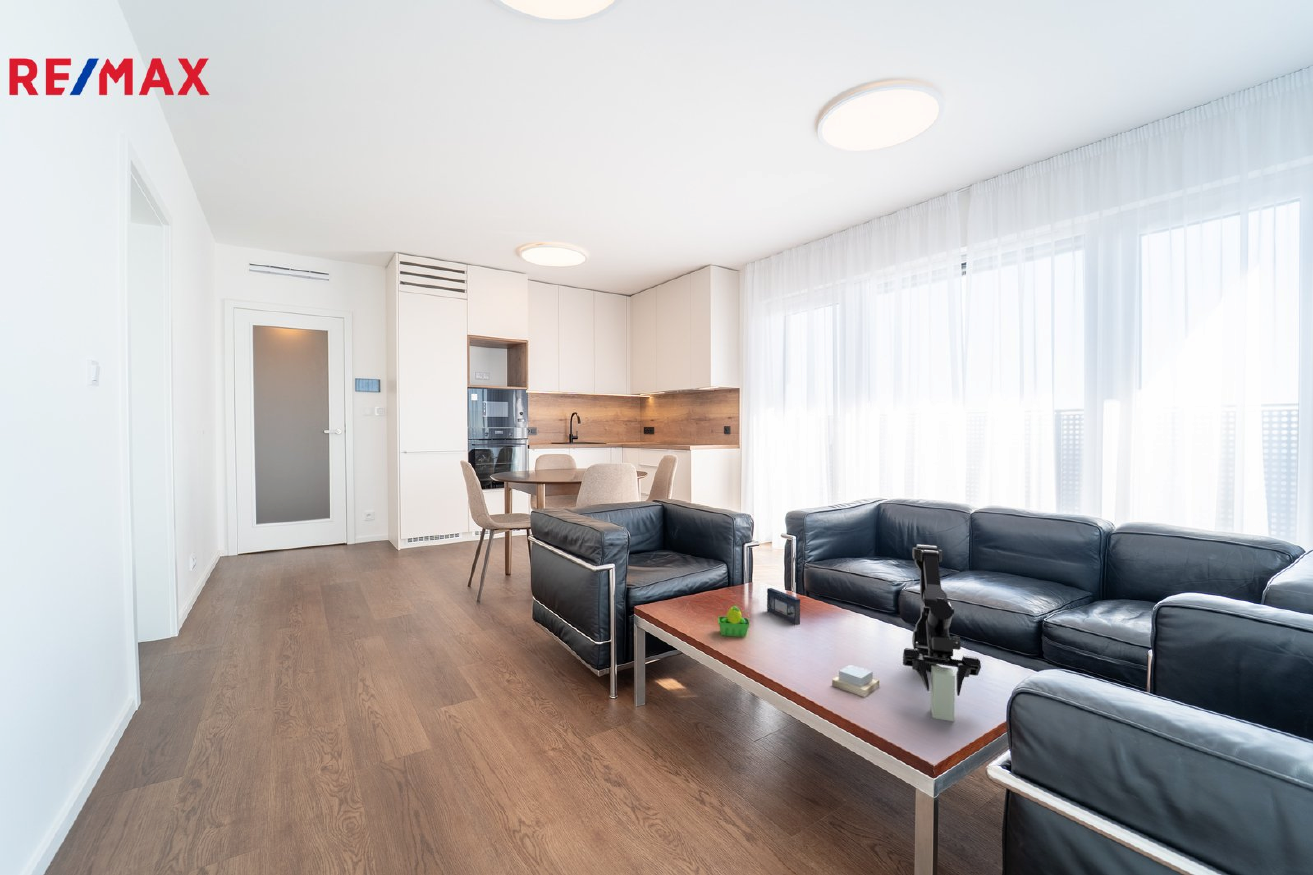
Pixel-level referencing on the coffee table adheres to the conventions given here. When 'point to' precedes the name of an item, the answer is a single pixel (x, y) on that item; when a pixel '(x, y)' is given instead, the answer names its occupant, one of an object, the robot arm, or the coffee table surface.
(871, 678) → the tower top
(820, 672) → the coffee table surface
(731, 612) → the fruit basket
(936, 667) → the column
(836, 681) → the tower base
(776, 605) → the vhs cassette tape
